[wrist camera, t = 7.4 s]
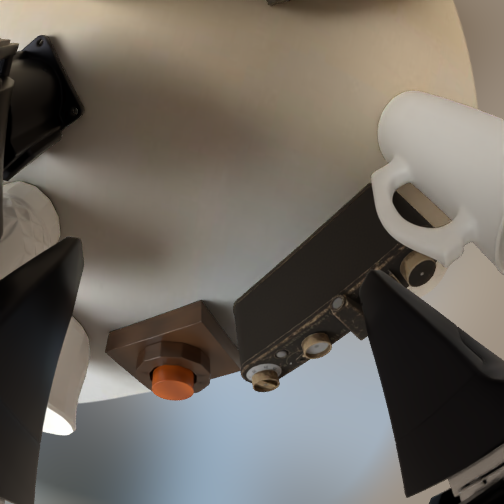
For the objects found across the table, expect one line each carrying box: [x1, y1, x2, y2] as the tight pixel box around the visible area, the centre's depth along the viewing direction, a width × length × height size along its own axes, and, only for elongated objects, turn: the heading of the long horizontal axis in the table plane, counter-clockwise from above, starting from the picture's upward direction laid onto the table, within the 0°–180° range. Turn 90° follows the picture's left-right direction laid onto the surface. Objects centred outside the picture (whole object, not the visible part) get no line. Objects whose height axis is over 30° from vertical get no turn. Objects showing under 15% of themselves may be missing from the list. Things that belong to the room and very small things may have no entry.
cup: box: [42, 317, 90, 435], centre depth 21 cm, size 10×10×10 cm
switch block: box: [105, 300, 241, 393], centre depth 27 cm, size 10×8×4 cm
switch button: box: [152, 365, 194, 400], centre depth 25 cm, size 4×4×2 cm
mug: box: [371, 90, 504, 275], centre depth 14 cm, size 10×7×12 cm, turn 121°
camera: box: [233, 183, 437, 392], centre depth 21 cm, size 16×7×8 cm, turn 136°
